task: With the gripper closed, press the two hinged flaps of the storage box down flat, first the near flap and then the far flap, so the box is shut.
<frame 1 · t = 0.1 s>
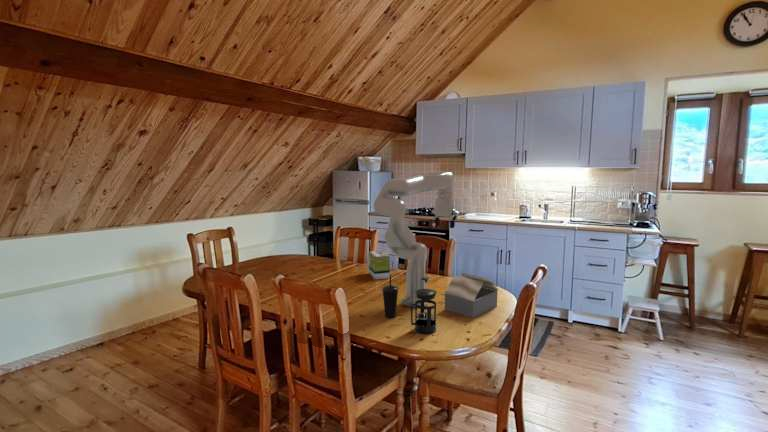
hand: (444, 226, 222), 37 cm above the table, tool pointing down, fingers open, 9 cm apart
far flap: (479, 281, 207), point 12 cm above the table, hinge at 40.0°
near flap: (463, 287, 197), point 12 cm above the table, hinge at 40.0°
french press: (424, 330, 177), on the table
storage box: (471, 307, 203), on the table
drinking cup: (390, 316, 192), on the table
tea box: (379, 276, 260), on the table
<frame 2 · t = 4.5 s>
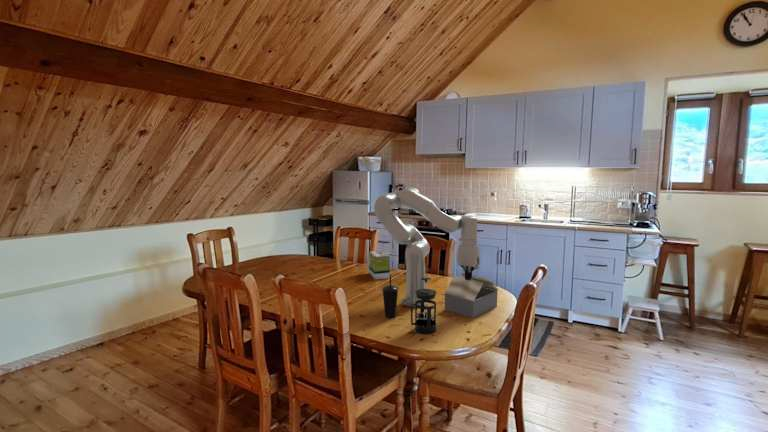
hand: (468, 279, 198), 15 cm above the table, tool pointing down, fingers closed
near flap: (463, 288, 197), point 12 cm above the table, hinge at 38.3°, touching gripper
everything else where it was.
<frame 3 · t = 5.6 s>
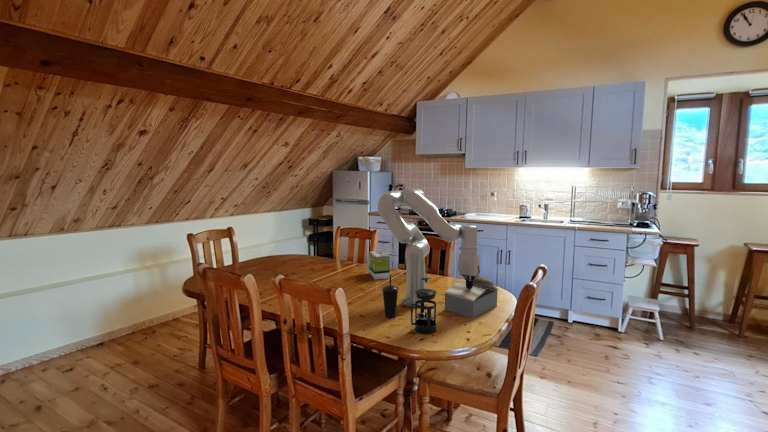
hand: (469, 288, 199), 11 cm above the table, tool pointing down, fingers closed
near flap: (465, 291, 198), point 10 cm above the table, hinge at 14.3°, touching gripper
everything else where it was.
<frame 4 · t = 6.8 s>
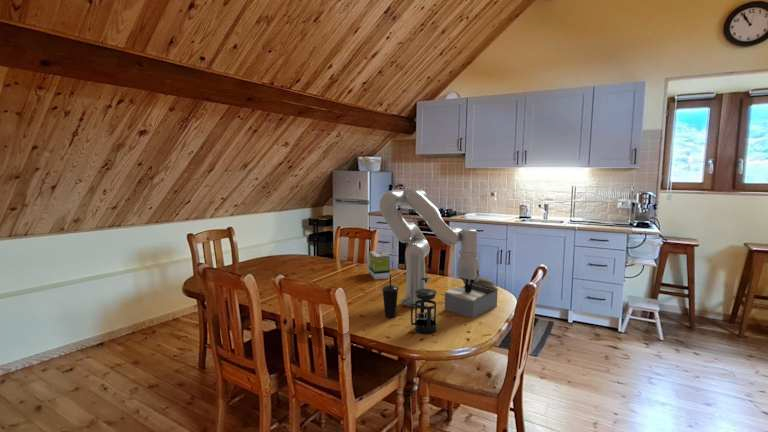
hand: (468, 291, 199), 9 cm above the table, tool pointing down, fingers closed
near flap: (465, 293, 198), point 9 cm above the table, hinge at 3.1°, touching gripper
everything else where it was.
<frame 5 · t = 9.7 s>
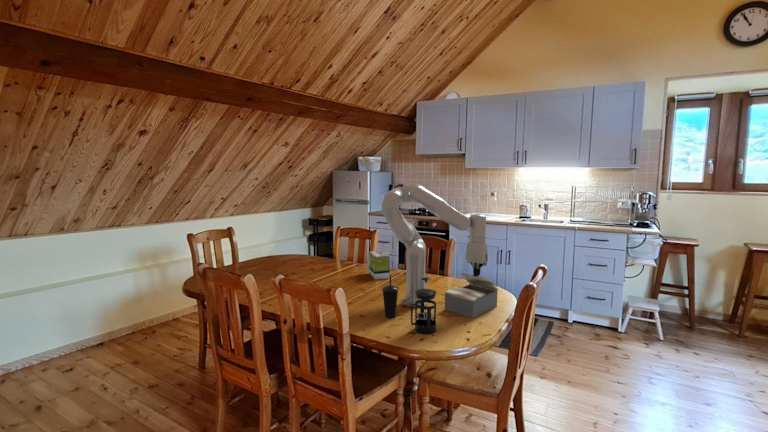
hand: (476, 275, 204), 16 cm above the table, tool pointing down, fingers closed
far flap: (479, 281, 207), point 12 cm above the table, hinge at 39.9°, touching gripper
near flap: (465, 293, 198), point 9 cm above the table, hinge at 2.8°
everything else where it was.
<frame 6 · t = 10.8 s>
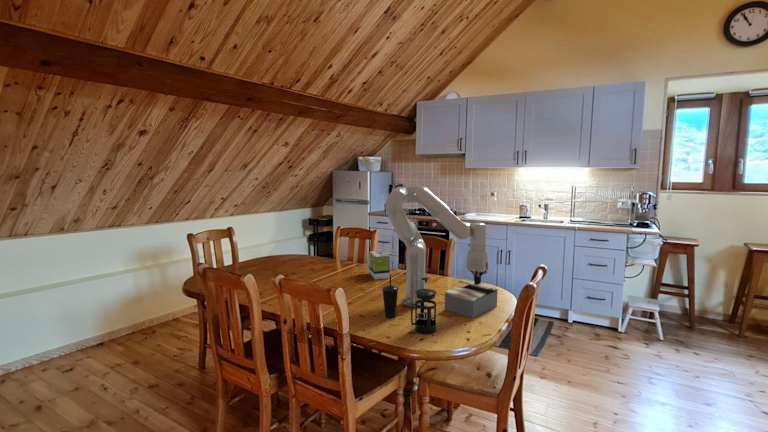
hand: (477, 283, 204), 11 cm above the table, tool pointing down, fingers closed
far flap: (478, 285, 206), point 10 cm above the table, hinge at 17.3°, touching gripper
everything else where it was.
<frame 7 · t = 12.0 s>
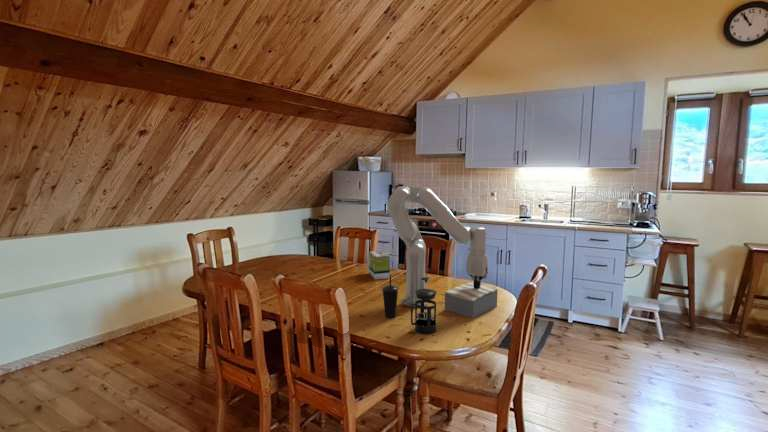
hand: (476, 288, 205), 9 cm above the table, tool pointing down, fingers closed
far flap: (477, 288, 206), point 9 cm above the table, hinge at 2.7°, touching gripper
everything else where it was.
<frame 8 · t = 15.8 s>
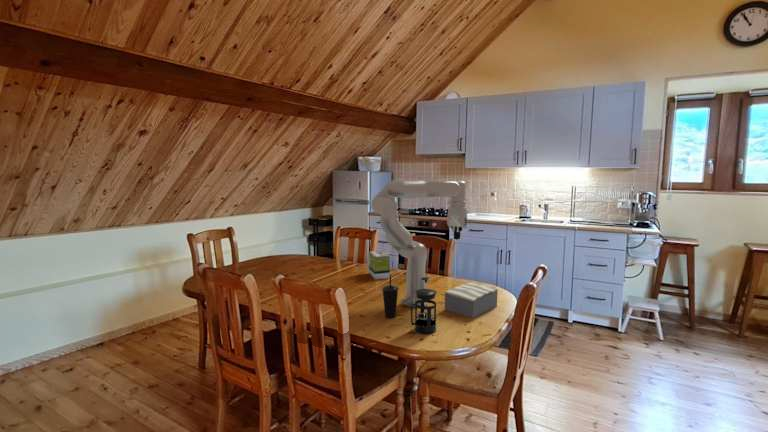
hand: (456, 239, 217), 31 cm above the table, tool pointing down, fingers closed
far flap: (477, 288, 206), point 9 cm above the table, hinge at 2.6°
everything else where it was.
at the end: near flap at +3° (first picture: +40°); far flap at +3° (first picture: +40°) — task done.
